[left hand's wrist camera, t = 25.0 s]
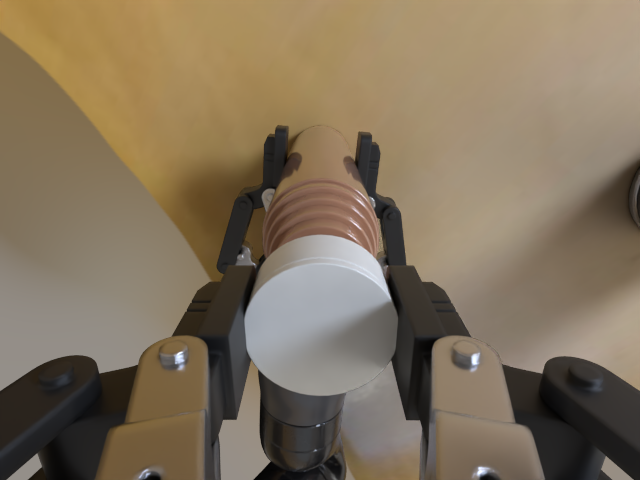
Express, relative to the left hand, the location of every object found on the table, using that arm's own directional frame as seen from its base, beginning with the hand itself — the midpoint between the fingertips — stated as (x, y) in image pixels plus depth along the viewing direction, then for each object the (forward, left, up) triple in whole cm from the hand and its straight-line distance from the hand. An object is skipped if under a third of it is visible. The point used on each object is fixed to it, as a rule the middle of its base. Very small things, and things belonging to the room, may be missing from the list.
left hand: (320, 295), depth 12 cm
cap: (0, 0, +2) cm, 2 cm away
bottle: (0, 0, -22) cm, 22 cm away
